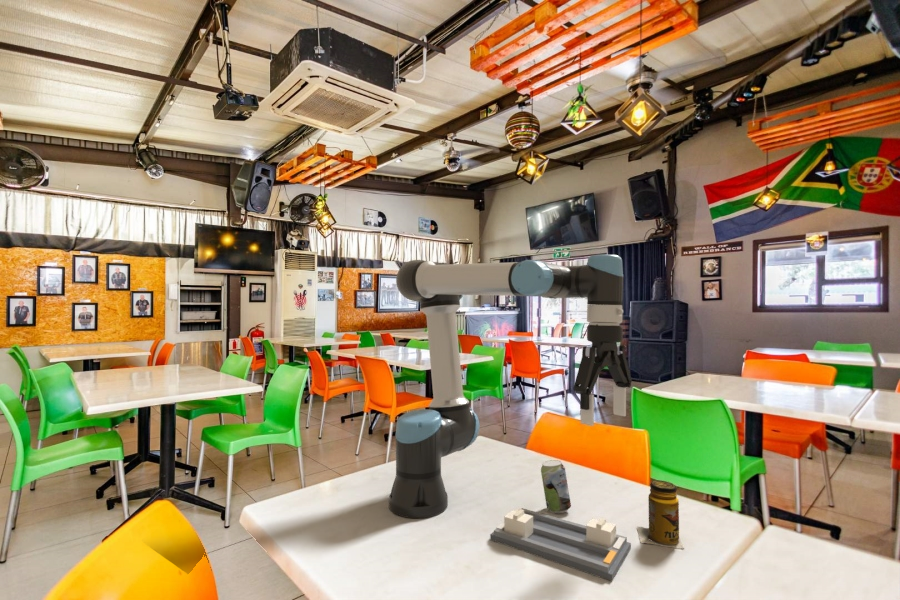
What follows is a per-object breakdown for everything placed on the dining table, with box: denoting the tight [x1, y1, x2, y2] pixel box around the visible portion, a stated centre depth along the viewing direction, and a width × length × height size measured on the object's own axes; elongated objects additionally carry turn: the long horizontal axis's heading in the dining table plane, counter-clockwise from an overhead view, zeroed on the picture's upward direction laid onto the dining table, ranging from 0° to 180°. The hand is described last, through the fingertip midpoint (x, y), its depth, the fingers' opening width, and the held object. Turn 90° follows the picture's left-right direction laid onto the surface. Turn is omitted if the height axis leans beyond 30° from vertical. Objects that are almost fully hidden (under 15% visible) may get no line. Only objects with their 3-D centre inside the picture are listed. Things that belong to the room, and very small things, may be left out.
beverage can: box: [540, 459, 572, 514], centre depth 113 cm, size 6×7×12 cm
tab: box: [503, 508, 533, 538], centre depth 98 cm, size 5×4×4 cm
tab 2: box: [585, 517, 617, 548], centre depth 94 cm, size 5×4×4 cm
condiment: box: [636, 480, 684, 550], centre depth 99 cm, size 7×8×12 cm
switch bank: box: [489, 508, 632, 582], centre depth 96 cm, size 26×14×2 cm, turn 55°
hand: (604, 419), depth 99 cm, fingers open, 13 cm apart
